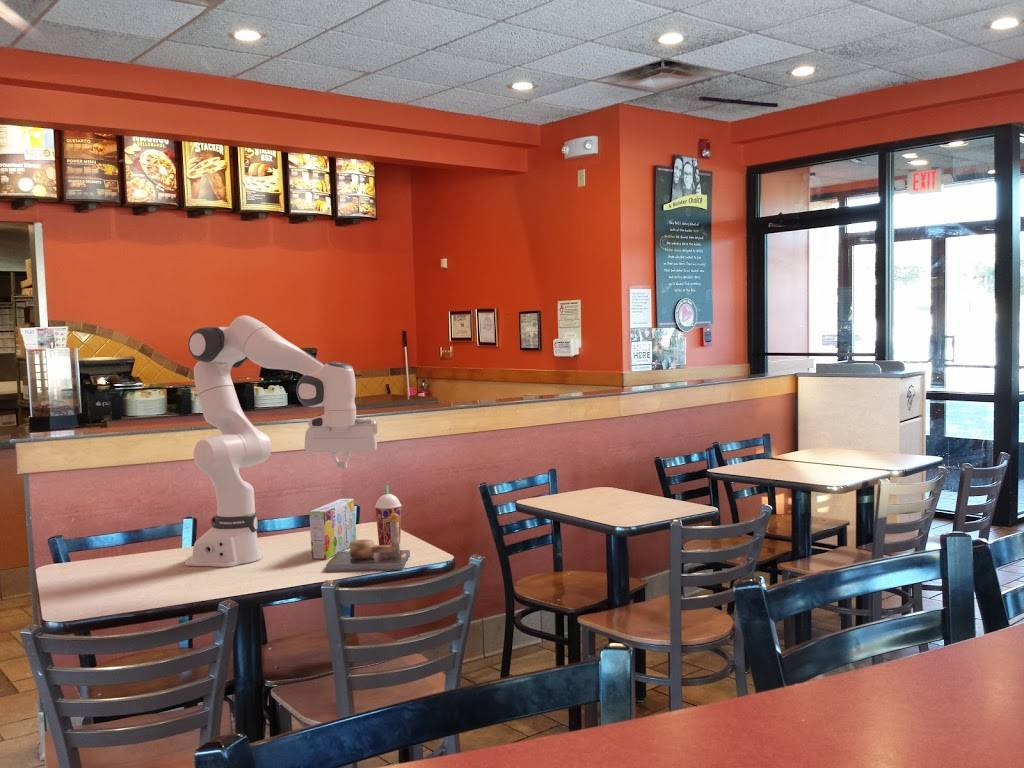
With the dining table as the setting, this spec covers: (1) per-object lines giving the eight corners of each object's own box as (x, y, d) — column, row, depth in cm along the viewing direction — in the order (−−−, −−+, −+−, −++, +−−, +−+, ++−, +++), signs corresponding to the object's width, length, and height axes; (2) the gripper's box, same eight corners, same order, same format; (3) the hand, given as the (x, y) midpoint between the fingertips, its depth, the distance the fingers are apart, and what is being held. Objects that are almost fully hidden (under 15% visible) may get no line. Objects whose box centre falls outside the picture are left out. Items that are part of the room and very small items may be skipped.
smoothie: (398, 551, 283) (396, 487, 282) (373, 550, 284) (370, 487, 283) (406, 545, 291) (403, 483, 290) (381, 544, 292) (378, 483, 291)
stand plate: (326, 571, 260) (326, 563, 260) (338, 558, 276) (337, 550, 276) (402, 569, 259) (402, 562, 259) (409, 556, 275) (409, 548, 275)
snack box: (341, 543, 296) (339, 498, 295) (357, 544, 294) (355, 498, 294) (310, 559, 275) (308, 510, 275) (327, 560, 274) (325, 510, 273)
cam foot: (347, 558, 264) (346, 516, 264) (353, 552, 271) (352, 511, 271) (398, 558, 263) (396, 515, 263) (402, 552, 270) (401, 511, 270)
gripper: (378, 418, 259) (379, 465, 260) (307, 418, 259) (308, 466, 260) (375, 420, 252) (375, 469, 253) (302, 420, 253) (303, 469, 254)
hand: (341, 467), depth 257 cm, fingers closed
